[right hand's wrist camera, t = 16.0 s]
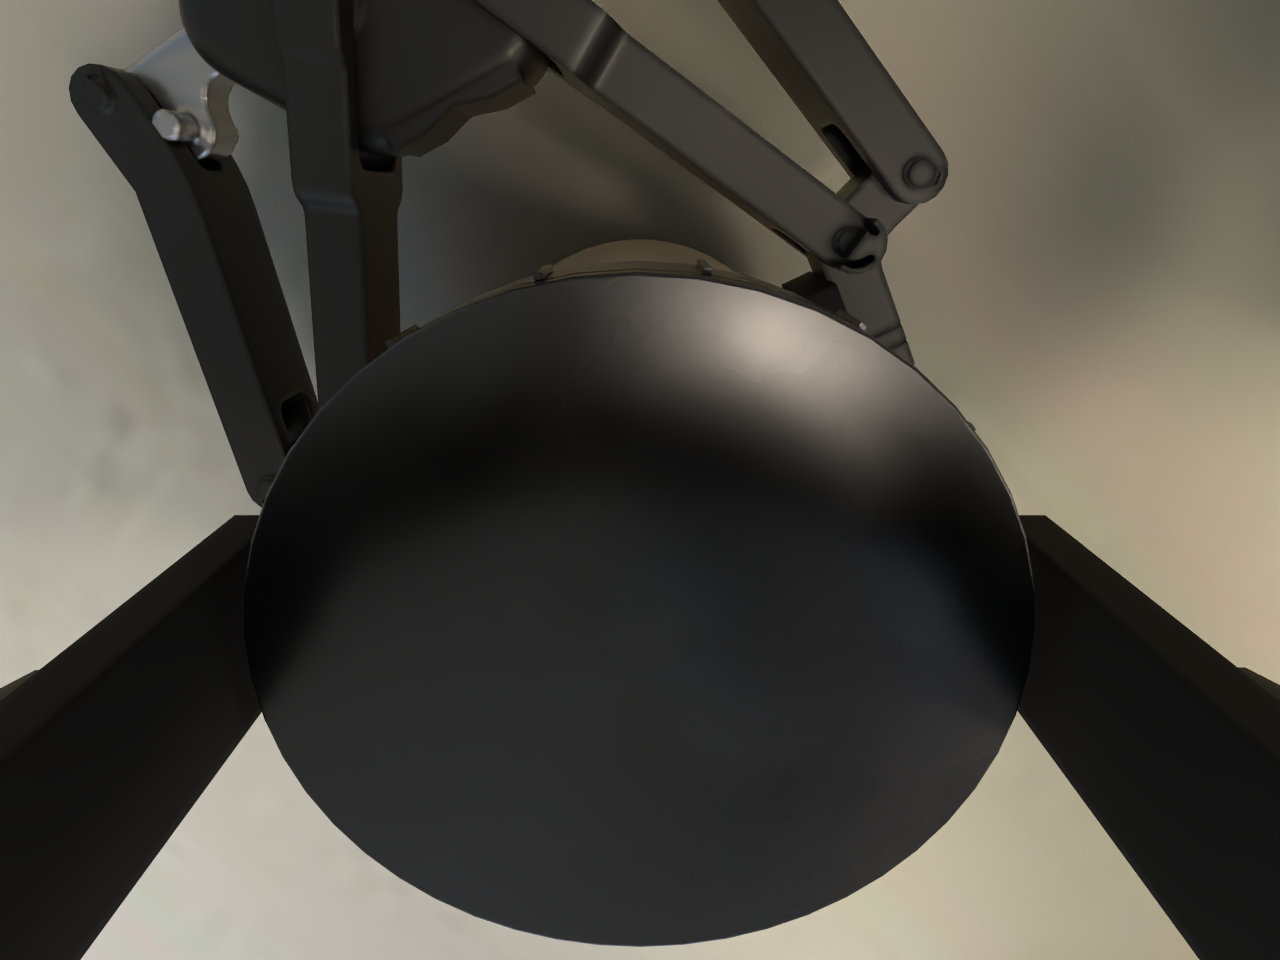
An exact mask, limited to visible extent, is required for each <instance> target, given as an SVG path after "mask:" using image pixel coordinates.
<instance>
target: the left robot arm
mask: <svg viewBox="0 0 1280 960" xmlns="http://www.w3.org/2000/svg"><path fill="white" fill-rule="evenodd" d="M718 2H719V3H720V4H721V6H722V7H723V8H724V10H725V11H726V12H727V14H728V15H729V16H730V18H731V19H732V20H733V22H734V23H735V24H736V26H737V27H738V28H739V30H740V31H741V32H742V34H743V35H744V36H745V38H746V39H747V40H748V42H749V43H750V44H751V46H752V47H753V48H754V50H755V51H756V52H757V54H758V55H759V56H760V58H761V59H762V60H763V62H764V63H765V64H766V66H767V67H768V68H769V70H770V71H771V72H772V74H773V75H774V76H775V78H776V79H777V80H778V82H779V83H780V84H781V86H782V87H783V88H784V90H785V91H786V92H787V94H788V95H789V96H790V98H791V99H792V100H793V102H794V103H795V104H796V106H797V107H798V108H799V110H800V111H801V112H802V114H803V115H804V116H805V118H806V119H807V120H808V122H809V123H810V124H811V126H812V127H813V128H814V130H815V131H816V132H817V134H818V135H819V136H820V138H821V139H822V140H823V142H824V143H825V144H826V146H827V147H828V148H829V150H830V151H831V152H832V154H833V155H834V156H835V158H836V159H837V160H838V162H839V163H840V164H841V166H842V167H843V168H844V170H845V171H846V172H847V174H848V175H849V176H850V178H851V179H850V180H849V181H848V182H847V183H846V184H845V185H844V186H843V187H842V188H841V189H840V190H839V191H838V192H837V193H836V194H835V193H834V192H833V191H832V190H830V189H829V188H828V187H826V186H825V185H824V184H822V183H821V182H820V181H819V180H817V179H816V178H815V177H813V176H812V175H811V174H809V173H808V172H807V171H806V170H804V169H803V168H802V167H800V166H799V165H798V164H796V163H795V162H794V161H793V160H791V159H790V158H789V157H787V156H786V155H785V154H783V153H782V152H781V151H779V150H778V149H777V148H776V147H774V146H773V145H772V144H770V143H769V142H768V141H766V140H765V139H764V138H763V137H761V136H760V135H759V134H757V133H756V132H755V131H753V130H752V129H751V128H750V127H748V126H747V125H746V124H744V123H743V122H742V121H740V120H739V119H738V118H737V117H735V116H734V115H733V114H731V113H730V112H729V111H727V110H726V109H725V108H724V107H722V106H721V105H720V104H718V103H717V102H716V101H714V100H713V99H712V98H710V97H709V96H708V95H707V94H705V93H704V92H703V91H701V90H700V89H699V88H697V87H696V86H695V85H694V84H692V83H691V82H690V81H688V80H687V79H686V78H684V77H683V76H682V75H681V74H679V73H678V72H677V71H675V70H674V69H673V68H671V67H670V66H669V65H668V64H666V63H665V62H664V61H662V60H661V59H660V58H658V57H657V56H656V55H655V54H653V53H652V52H651V51H649V50H648V49H647V48H645V47H644V46H643V45H641V44H640V43H639V42H638V41H636V40H635V39H634V38H632V37H631V36H630V35H629V34H627V33H626V32H625V31H624V30H623V29H622V28H621V27H620V26H619V25H618V24H617V23H616V22H615V20H614V19H613V18H611V17H610V16H609V15H608V14H607V13H606V12H605V11H604V10H602V9H601V8H600V7H599V6H597V5H596V4H595V3H594V2H592V1H591V0H179V8H180V15H181V19H182V23H183V28H182V29H181V30H179V31H178V32H176V33H175V34H174V35H172V36H171V37H170V38H168V39H167V40H165V41H164V42H163V43H161V44H160V45H158V46H157V47H156V48H154V49H153V50H151V51H150V52H149V53H147V54H146V55H144V56H143V57H142V58H140V59H139V60H137V61H136V62H135V63H133V64H132V65H131V66H129V67H128V68H126V69H116V68H112V67H108V66H104V65H98V64H86V65H84V66H81V67H79V68H78V69H77V70H76V71H75V72H74V74H73V75H72V76H71V81H70V85H69V91H70V97H71V102H72V104H73V105H74V107H75V109H76V111H77V113H78V114H79V116H80V117H81V119H82V120H83V121H84V123H85V124H86V125H87V127H88V128H89V129H90V131H91V132H92V133H93V135H94V136H95V137H96V139H97V140H98V141H99V143H100V144H101V146H102V147H103V148H104V150H105V151H106V152H107V154H108V155H109V156H110V158H111V159H112V160H113V162H114V163H115V164H116V166H117V167H118V169H119V170H120V171H121V173H122V174H123V175H124V177H125V178H126V179H127V181H128V182H129V183H130V185H131V186H132V187H133V189H134V190H135V192H136V194H137V197H138V200H139V202H140V205H141V208H142V210H143V213H144V216H145V218H146V221H147V224H148V226H149V229H150V232H151V234H152V237H153V240H154V242H155V245H156V248H157V250H158V253H159V256H160V258H161V261H162V264H163V267H164V269H165V272H166V275H167V277H168V280H169V283H170V285H171V288H172V291H173V293H174V296H175V299H176V301H177V304H178V307H179V309H180V312H181V315H182V317H183V320H184V323H185V325H186V328H187V331H188V334H189V336H190V339H191V342H192V344H193V347H194V350H195V352H196V355H197V358H198V360H199V363H200V366H201V368H202V371H203V374H204V376H205V379H206V382H207V384H208V387H209V390H210V392H211V395H212V398H213V401H214V403H215V406H216V409H217V411H218V414H219V417H220V419H221V422H222V425H223V427H224V430H225V433H226V435H227V438H228V441H229V443H230V446H231V449H232V451H233V454H234V457H235V459H236V462H237V465H238V467H239V470H240V473H241V476H242V478H243V481H244V484H245V486H246V489H247V492H248V493H249V495H250V497H251V498H252V500H253V501H254V502H256V503H257V504H258V505H259V506H260V507H263V504H264V501H265V498H266V495H267V493H268V491H269V489H270V487H271V485H272V483H273V481H274V480H275V478H276V476H277V474H278V472H279V470H280V468H281V466H282V464H283V462H284V460H285V458H286V456H287V454H288V452H289V451H290V449H291V448H292V447H293V445H294V444H295V443H296V441H297V440H298V438H299V437H300V436H301V434H302V433H303V432H304V430H305V429H306V428H307V426H308V425H309V423H310V422H311V421H312V419H313V418H314V417H315V415H316V414H317V412H318V411H319V410H320V409H321V408H322V407H323V406H324V405H325V404H326V403H327V402H328V401H329V400H330V399H331V398H332V397H333V396H334V395H335V394H336V393H337V392H338V391H339V390H340V389H341V388H342V387H343V386H344V385H345V384H346V383H347V382H348V381H349V380H350V379H351V378H352V377H353V376H354V375H355V374H356V373H357V372H358V371H359V370H360V369H362V368H363V367H365V366H366V365H367V364H369V363H370V362H371V361H373V360H374V359H375V358H377V357H378V356H379V355H381V354H382V353H384V352H385V351H386V350H388V349H389V348H388V347H387V345H386V344H385V343H386V342H387V341H388V340H390V339H391V338H393V337H395V336H397V335H398V334H400V302H399V267H398V232H397V212H398V208H399V205H400V202H401V198H402V186H403V185H402V156H408V155H410V156H416V157H421V156H422V155H424V154H426V153H428V152H430V151H432V150H433V149H435V148H437V147H439V146H441V145H442V144H444V143H446V142H448V141H449V140H450V139H451V138H452V137H453V136H454V135H455V134H456V132H457V131H458V130H459V129H460V128H461V127H462V126H463V125H464V124H465V123H466V122H467V121H468V120H469V119H470V118H472V117H473V116H476V115H481V114H486V113H491V112H495V111H500V110H505V109H508V108H510V107H512V106H513V105H515V104H517V103H519V102H521V101H522V100H524V99H526V98H528V97H530V96H532V95H533V94H535V93H536V92H535V90H534V87H535V85H536V84H537V83H538V82H539V81H540V80H541V78H542V77H543V76H544V74H545V72H546V70H547V69H548V68H549V69H550V70H552V71H553V72H554V73H556V74H557V75H558V76H560V77H561V78H562V79H564V80H565V81H567V82H568V83H569V84H571V85H572V86H573V87H575V88H576V89H577V90H579V91H580V92H582V93H583V94H584V95H586V96H587V97H589V98H590V99H592V100H594V101H595V102H597V103H598V104H600V105H601V106H603V107H604V108H605V109H607V110H608V111H609V112H611V113H612V114H613V115H615V116H616V117H618V118H619V119H620V120H622V121H623V122H624V123H626V124H627V125H628V126H630V127H631V128H632V129H634V130H635V131H637V132H638V133H639V134H641V135H642V136H643V137H645V138H646V139H647V140H649V141H650V142H651V143H653V144H654V145H655V146H657V147H658V148H660V149H661V150H662V151H664V152H665V153H666V154H668V155H669V156H670V157H672V158H673V159H674V160H676V161H677V162H679V163H680V164H681V165H683V166H684V167H685V168H687V169H688V170H689V171H691V172H692V173H693V174H695V175H696V176H697V177H699V178H700V179H702V180H703V181H704V182H706V183H707V184H708V185H710V186H711V187H712V188H714V189H715V190H716V191H718V192H719V193H721V194H722V195H723V196H725V197H726V198H727V199H729V200H730V201H731V202H733V203H734V204H735V205H737V206H738V207H740V208H741V209H742V210H744V211H745V212H746V213H748V214H749V215H750V216H752V217H753V218H754V219H756V220H757V221H758V222H760V223H761V224H763V225H764V226H765V227H767V228H768V229H769V230H771V231H772V232H773V233H775V234H776V235H777V236H779V237H780V238H782V239H783V240H784V241H786V242H787V243H788V244H790V245H791V246H792V247H794V248H795V249H796V250H798V251H799V252H800V253H802V254H803V255H805V256H806V257H807V259H808V261H809V264H810V267H811V269H812V272H813V273H812V272H808V273H805V274H803V275H801V276H799V277H797V278H795V279H793V280H791V281H789V282H787V283H784V284H782V287H783V289H786V290H789V291H792V292H794V293H796V294H798V295H800V296H802V297H804V298H806V299H808V300H810V301H811V302H813V303H815V304H817V305H819V306H821V307H823V308H825V309H827V310H829V311H831V312H833V313H835V314H836V312H837V310H838V309H840V310H842V311H844V312H846V313H847V314H849V315H851V316H853V317H854V318H856V319H858V320H860V321H861V322H863V323H865V324H866V325H867V328H866V329H865V332H866V333H868V334H870V335H871V336H872V337H874V338H875V339H877V340H878V341H879V342H881V343H882V344H884V345H885V346H886V347H888V348H889V349H891V350H892V351H893V352H895V353H896V354H898V355H899V356H900V357H902V358H903V359H905V360H906V361H907V362H909V363H910V364H912V365H913V366H914V360H913V357H912V354H911V351H910V348H909V345H908V342H907V341H906V337H905V334H904V331H903V328H902V326H901V324H900V319H899V316H898V313H897V311H896V308H895V305H894V302H893V299H892V296H891V293H890V290H889V287H888V284H887V282H886V279H885V276H884V273H883V270H882V265H881V260H882V258H883V256H884V254H885V252H886V249H887V240H888V238H887V236H888V234H889V233H890V232H891V231H892V230H893V228H894V227H895V226H896V225H897V224H899V223H900V222H901V221H902V220H903V219H904V218H905V217H906V216H907V215H908V214H909V213H910V212H911V211H912V210H913V209H914V208H915V207H916V206H917V205H918V204H919V203H925V202H927V201H929V200H930V199H932V198H934V197H935V196H936V195H937V194H938V193H939V192H940V190H941V189H942V188H943V187H944V184H945V182H946V179H947V176H948V162H947V159H946V157H945V154H944V152H943V151H942V149H941V148H940V146H939V145H938V143H937V142H936V141H935V139H934V138H933V136H932V135H931V133H930V132H929V131H928V129H927V128H926V126H925V125H924V123H923V122H922V121H921V119H920V118H919V116H918V115H917V113H916V112H915V111H914V109H913V108H912V106H911V105H910V103H909V102H908V101H907V99H906V98H905V96H904V95H903V93H902V92H901V91H900V89H899V88H898V86H897V85H896V83H895V82H894V81H893V79H892V78H891V76H890V75H889V73H888V72H887V70H886V69H885V68H884V66H883V65H882V63H881V62H880V60H879V59H878V58H877V56H876V55H875V53H874V52H873V50H872V49H871V48H870V46H869V45H868V43H867V42H866V40H865V39H864V38H863V36H862V35H861V33H860V32H859V30H858V29H857V28H856V26H855V25H854V23H853V22H852V20H851V19H850V18H849V16H848V15H847V13H846V12H845V10H844V9H843V8H842V6H841V5H840V3H839V2H838V0H718ZM236 83H237V84H239V85H241V86H243V87H244V88H246V89H248V90H250V91H252V92H253V93H255V94H257V95H259V96H261V97H262V98H264V99H266V100H268V101H270V102H272V103H273V104H275V105H277V106H279V107H281V108H282V109H284V110H286V111H287V124H288V137H289V150H290V163H291V176H292V184H293V189H294V192H295V195H296V197H297V198H298V200H299V201H300V203H301V204H302V206H303V209H304V213H305V223H306V237H307V251H308V265H309V279H310V293H311V307H312V321H313V335H314V349H315V363H316V377H317V391H318V401H317V398H316V395H315V392H314V389H313V386H312V383H311V379H310V376H309V373H308V370H307V367H306V364H305V361H304V358H303V354H302V351H301V348H300V345H299V342H298V339H297V336H296V333H295V329H294V326H293V323H292V320H291V317H290V314H289V311H288V308H287V304H286V301H285V298H284V295H283V292H282V289H281V286H280V283H279V279H278V276H277V273H276V270H275V267H274V264H273V261H272V258H271V254H270V251H269V248H268V245H267V242H266V239H265V236H264V233H263V229H262V226H261V223H260V220H259V217H258V214H257V211H256V208H255V205H254V202H253V199H252V197H251V194H250V191H249V189H248V186H247V184H246V182H245V180H244V178H243V176H242V174H241V172H240V170H239V168H238V166H237V164H236V162H235V161H234V159H233V157H232V156H231V153H232V152H233V150H234V148H235V146H236V144H237V143H238V139H239V134H238V130H237V128H236V127H235V125H234V123H233V121H232V118H231V116H230V113H229V107H228V99H229V93H230V91H231V89H232V87H233V86H234V85H235V84H236Z"/></svg>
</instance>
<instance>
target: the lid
mask: <svg viewBox="0 0 1280 960" xmlns="http://www.w3.org/2000/svg"><path fill="white" fill-rule="evenodd" d="M866 328H867V325H866V324H865V323H863V322H861V321H860V320H858V319H856V318H854V317H853V316H851V315H849V314H847V313H846V312H844V311H842V310H840V309H838V310H837V312H836V314H835V313H833V312H831V311H829V310H827V309H825V308H823V307H821V306H819V305H817V304H815V303H813V302H811V301H810V300H808V299H806V298H804V297H802V296H800V295H798V294H796V293H794V292H792V291H789V290H786V289H783V288H780V287H778V286H775V285H772V284H769V283H766V282H763V281H760V280H758V279H755V278H752V277H749V276H746V275H743V274H739V273H734V272H729V271H724V270H719V269H714V268H712V267H711V266H710V265H709V264H708V263H707V262H706V261H705V260H703V259H697V264H696V265H694V264H685V263H669V262H653V261H623V262H610V263H596V264H583V265H578V266H574V267H569V268H564V269H560V270H555V271H553V269H552V265H551V264H550V265H546V266H543V267H542V268H541V269H539V270H538V271H537V272H535V273H534V274H533V275H532V276H529V277H526V278H523V279H520V280H518V281H515V282H512V283H509V284H507V285H504V286H501V287H498V288H496V289H493V290H490V291H487V292H485V293H482V294H480V295H478V296H476V297H474V298H473V299H471V300H469V301H467V302H465V303H463V304H461V305H459V306H458V307H456V308H454V309H452V310H450V311H448V312H446V313H444V314H443V315H441V316H439V317H437V318H435V319H434V320H432V321H430V322H429V323H427V324H425V325H424V326H422V327H420V328H419V327H418V326H417V325H414V326H412V327H410V328H409V329H407V330H405V331H403V332H402V333H400V334H398V335H397V336H395V337H393V338H391V339H390V340H388V341H387V342H386V343H385V344H386V345H387V347H388V348H389V349H388V350H386V351H385V352H384V353H382V354H381V355H379V356H378V357H377V358H375V359H374V360H373V361H371V362H370V363H369V364H367V365H366V366H365V367H363V368H362V369H360V370H359V371H358V372H357V373H356V374H355V375H354V376H353V377H352V378H351V379H350V380H349V381H348V382H347V383H346V384H345V385H344V386H343V387H342V388H341V389H340V390H339V391H338V392H337V393H336V394H335V395H334V396H333V397H332V398H331V399H330V400H329V401H328V402H327V403H326V404H325V405H324V406H323V407H322V408H321V409H320V410H319V411H318V412H317V414H316V415H315V417H314V418H313V419H312V421H311V422H310V423H309V425H308V426H307V428H306V429H305V430H304V432H303V433H302V434H301V436H300V437H299V438H298V440H297V441H296V443H295V444H294V445H293V447H292V448H291V449H290V451H289V452H288V454H287V456H286V458H285V460H284V462H283V464H282V466H281V468H280V470H279V472H278V474H277V476H276V478H275V480H274V481H273V483H272V485H271V487H270V489H269V491H268V493H267V495H266V498H265V501H264V504H263V507H262V510H261V513H260V516H259V519H258V522H257V525H256V528H255V531H254V535H253V538H252V541H251V546H250V552H249V559H248V565H247V572H246V578H245V585H244V636H245V642H246V648H247V655H248V661H249V667H250V673H251V678H252V681H253V685H254V688H255V691H256V694H257V697H258V700H259V703H260V707H261V710H262V713H263V716H264V719H265V721H266V723H267V725H268V727H269V729H270V731H271V733H272V735H273V738H274V740H275V742H276V744H277V746H278V748H279V750H280V752H281V754H282V756H283V758H284V759H285V761H286V762H287V764H288V765H289V767H290V768H291V770H292V771H293V773H294V775H295V776H296V778H297V779H298V781H299V782H300V784H301V785H302V787H303V788H304V790H305V791H306V793H307V794H308V795H309V796H310V797H311V798H312V800H313V801H314V802H315V803H316V804H317V805H318V807H319V808H320V809H321V810H322V811H323V812H324V814H325V815H326V816H327V817H328V818H329V819H330V821H331V822H332V823H333V824H334V825H335V826H336V827H337V828H338V829H339V830H341V831H342V832H343V833H344V834H345V835H346V836H347V837H348V838H349V839H350V840H351V841H353V842H354V843H355V844H356V845H357V846H358V847H359V848H360V849H361V850H362V851H363V852H365V853H366V854H367V855H369V856H370V857H371V858H373V859H374V860H375V861H377V862H378V863H380V864H381V865H382V866H384V867H385V868H386V869H388V870H389V871H390V872H392V873H393V874H395V875H396V876H397V877H399V878H400V879H402V880H404V881H406V882H407V883H409V884H411V885H413V886H414V887H416V888H418V889H419V890H421V891H423V892H425V893H426V894H428V895H430V896H432V897H433V898H435V899H437V900H439V901H442V902H444V903H446V904H448V905H451V906H453V907H455V908H457V909H459V910H462V911H464V912H466V913H468V914H471V915H473V916H475V917H478V918H481V919H484V920H487V921H490V922H493V923H496V924H499V925H502V926H505V927H508V928H511V929H514V930H518V931H523V932H527V933H531V934H536V935H540V936H544V937H549V938H553V939H558V940H565V941H573V942H580V943H587V944H595V945H610V946H634V947H647V946H667V945H685V944H692V943H699V942H706V941H713V940H720V939H727V938H731V937H735V936H739V935H743V934H747V933H752V932H756V931H760V930H764V929H768V928H771V927H774V926H777V925H780V924H783V923H785V922H788V921H791V920H794V919H797V918H800V917H803V916H806V915H808V914H811V913H813V912H815V911H817V910H819V909H822V908H824V907H826V906H828V905H830V904H832V903H835V902H837V901H839V900H841V899H843V898H846V897H847V896H849V895H851V894H852V893H854V892H856V891H858V890H859V889H861V888H863V887H864V886H866V885H868V884H869V883H871V882H873V881H875V880H876V879H878V878H880V877H881V876H883V875H884V874H886V873H887V872H888V871H890V870H891V869H892V868H894V867H895V866H896V865H898V864H899V863H900V862H902V861H903V860H904V859H906V858H907V857H909V856H910V855H911V854H913V853H914V852H915V851H917V850H918V849H919V848H920V847H921V846H922V845H923V844H924V843H925V842H926V841H927V840H928V839H929V838H930V837H932V836H933V835H934V834H935V833H936V832H937V831H938V830H939V829H940V828H941V827H942V826H943V825H944V824H945V823H946V822H948V820H949V819H950V818H951V817H952V816H953V814H954V813H955V812H956V811H957V810H958V808H959V807H960V806H961V805H962V804H963V802H964V801H965V800H966V799H967V798H968V797H969V795H970V794H971V793H972V792H973V791H974V789H975V788H976V786H977V785H978V783H979V782H980V780H981V779H982V777H983V775H984V774H985V772H986V771H987V769H988V768H989V766H990V765H991V763H992V761H993V760H994V758H995V757H996V755H997V754H998V752H999V750H1000V747H1001V745H1002V743H1003V741H1004V739H1005V737H1006V735H1007V732H1008V730H1009V728H1010V726H1011V724H1012V722H1013V720H1014V717H1015V715H1016V712H1017V709H1018V706H1019V702H1020V699H1021V696H1022V693H1023V689H1024V686H1025V683H1026V679H1027V676H1028V672H1029V665H1030V659H1031V652H1032V645H1033V638H1034V631H1035V608H1034V580H1033V574H1032V568H1031V562H1030V556H1029V550H1028V545H1027V539H1026V535H1025V532H1024V529H1023V526H1022V523H1021V521H1020V518H1019V515H1018V512H1017V509H1016V506H1015V503H1014V500H1013V497H1012V494H1011V492H1010V490H1009V488H1008V486H1007V484H1006V482H1005V480H1004V478H1003V477H1002V475H1001V473H1000V471H999V469H998V467H997V465H996V463H995V461H994V460H993V458H992V456H991V454H990V452H989V450H988V448H987V447H986V446H985V444H984V443H983V442H982V440H981V439H980V438H979V436H978V435H977V434H976V432H975V430H976V429H975V428H974V426H973V425H972V424H971V423H970V422H968V421H967V420H966V419H965V418H964V416H963V415H962V414H961V412H960V411H959V410H958V408H957V407H956V406H955V405H954V404H953V403H952V402H951V401H950V400H949V399H948V398H947V397H946V396H945V395H944V394H943V393H942V392H941V391H940V390H939V389H938V388H937V387H936V386H935V385H933V384H932V383H931V382H930V381H929V380H928V379H927V378H926V377H925V376H924V375H923V374H922V373H921V372H920V371H919V370H918V369H917V368H916V367H914V366H913V365H912V364H910V363H909V362H907V361H906V360H905V359H903V358H902V357H900V356H899V355H898V354H896V353H895V352H893V351H892V350H891V349H889V348H888V347H886V346H885V345H884V344H882V343H881V342H879V341H878V340H877V339H875V338H874V337H872V336H871V335H870V334H868V333H866V332H865V329H866Z"/></svg>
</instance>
